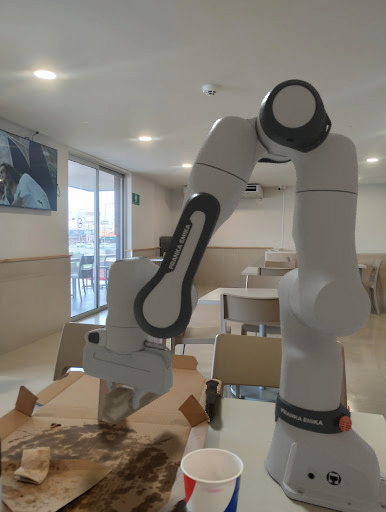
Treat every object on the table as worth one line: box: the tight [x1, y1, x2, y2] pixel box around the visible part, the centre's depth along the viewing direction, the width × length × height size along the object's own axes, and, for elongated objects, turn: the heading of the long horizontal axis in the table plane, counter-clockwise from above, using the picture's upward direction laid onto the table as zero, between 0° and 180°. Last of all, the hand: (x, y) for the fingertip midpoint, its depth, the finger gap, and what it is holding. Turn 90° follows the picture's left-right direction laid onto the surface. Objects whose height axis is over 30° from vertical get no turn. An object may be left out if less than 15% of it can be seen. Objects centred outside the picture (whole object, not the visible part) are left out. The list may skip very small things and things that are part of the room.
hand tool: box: [204, 379, 220, 424], centre depth 97 cm, size 19×4×5 cm, turn 172°
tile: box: [97, 378, 123, 423], centre depth 88 cm, size 2×7×10 cm, turn 153°
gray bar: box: [102, 385, 171, 426], centre depth 80 cm, size 3×20×5 cm, turn 152°
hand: (125, 404), depth 75 cm, fingers closed on gray bar, 3 cm apart
